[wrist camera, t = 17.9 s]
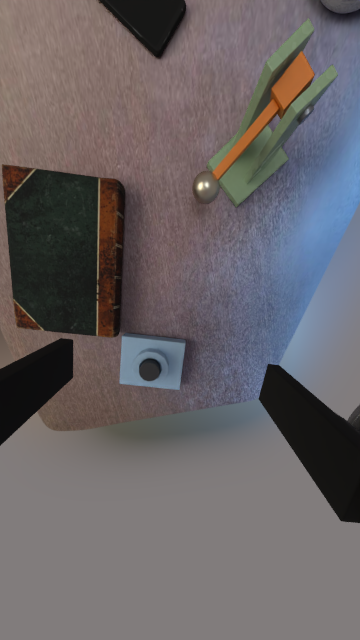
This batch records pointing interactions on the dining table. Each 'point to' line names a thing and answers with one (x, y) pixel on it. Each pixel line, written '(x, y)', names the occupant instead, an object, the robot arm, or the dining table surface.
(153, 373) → the button
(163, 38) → the smartphone
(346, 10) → the planter
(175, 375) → the button housing
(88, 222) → the book
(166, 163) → the dining table surface
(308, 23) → the switch bracket
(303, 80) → the switch lever
